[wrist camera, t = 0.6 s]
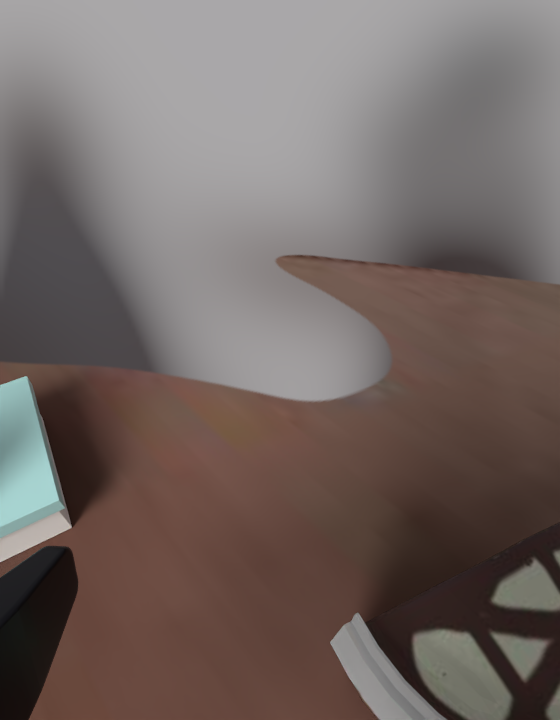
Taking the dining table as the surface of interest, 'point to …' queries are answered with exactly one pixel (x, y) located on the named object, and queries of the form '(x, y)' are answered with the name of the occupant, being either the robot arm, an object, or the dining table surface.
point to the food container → (467, 643)
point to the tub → (36, 527)
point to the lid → (24, 460)
